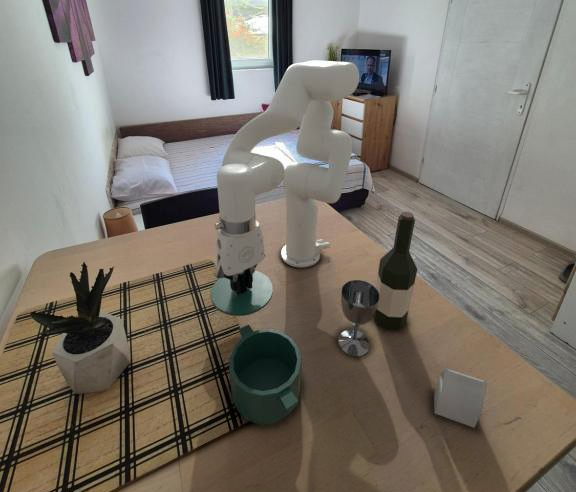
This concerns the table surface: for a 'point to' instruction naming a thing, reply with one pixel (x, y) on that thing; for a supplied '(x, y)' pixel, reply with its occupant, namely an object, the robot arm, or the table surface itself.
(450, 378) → the white box
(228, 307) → the lid
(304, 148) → the robot arm
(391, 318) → the wine bottle
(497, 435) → the table surface
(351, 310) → the wine glass
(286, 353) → the pot
